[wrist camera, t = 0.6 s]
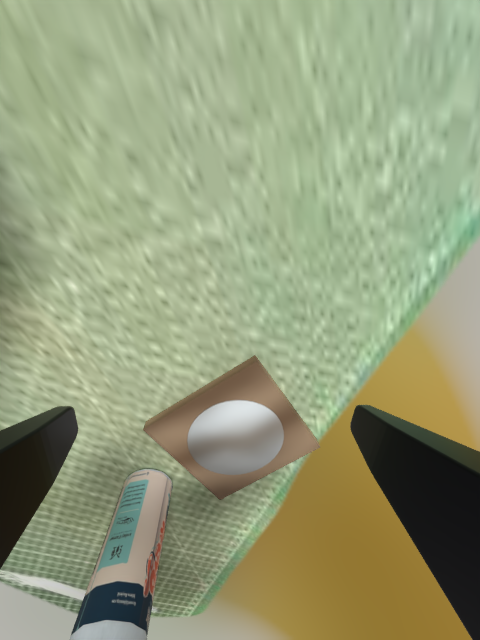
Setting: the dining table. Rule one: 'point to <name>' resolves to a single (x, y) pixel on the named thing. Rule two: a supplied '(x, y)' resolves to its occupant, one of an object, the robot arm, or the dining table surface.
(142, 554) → the beer can
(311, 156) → the dining table surface
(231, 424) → the plate
